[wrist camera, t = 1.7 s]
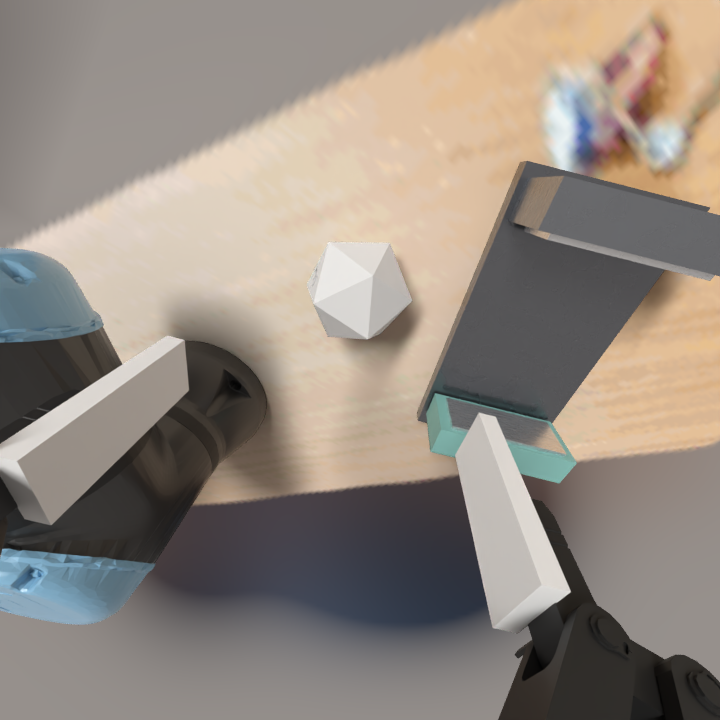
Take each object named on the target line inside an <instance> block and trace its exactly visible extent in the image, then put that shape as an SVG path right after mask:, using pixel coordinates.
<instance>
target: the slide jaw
mask: <svg viewBox="0 0 720 720" xmlns="http://www.w3.org/2000/svg"><path fill="white" fill-rule="evenodd" d="M478 413H483V414H487V415H491V416H495V417H496V419H497V421H498V423H499V426H500V428H501V430H502V433H503V435H504V437H505V440H506V442H507V444H508V447H509V449H510V451H511V454H512V456H513V458H514V461H515V463H516V465H517V467H518V470H519V472H520V474H524V475H528V476H532V477H536V478H540V479H544V480H548V481H552V482H556V483H560V482H561V481H562V480H563V478H564V477H565V476H566V475H567V474H568V473H569V471H570V470H571V469H572V468H573V467H574V466H575V465H576V463H577V462H576V461H575V459H574V458H573V456H572V455H571V453H570V451H569V450H568V448H567V447H566V445H565V444H564V442H563V440H562V439H561V437H560V436H559V434H558V433H557V431H556V429H555V428H554V426H553V425H552V423H551V422H549V421H545V420H541V419H537V418H533V417H529V416H525V415H521V414H517V413H513V412H509V411H505V410H501V409H497V408H493V407H489V406H485V405H481V404H477V403H473V402H469V401H465V400H461V399H456V398H452V397H448V396H444V395H440V394H436V393H435V395H434V397H433V399H432V402H431V404H430V406H429V409H428V411H427V413H426V416H427V425H428V434H429V442H430V451H431V452H434V453H438V454H442V455H446V456H450V457H454V458H456V457H455V454H456V453H457V451H458V449H459V447H460V445H461V444H462V442H463V440H464V438H465V437H466V435H467V433H468V431H469V429H470V428H471V426H472V424H473V422H474V420H475V419H476V417H477V415H478Z"/></svg>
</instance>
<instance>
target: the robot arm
mask: <svg viewBox="0 0 720 720" xmlns="http://www.w3.org/2000/svg"><path fill="white" fill-rule="evenodd" d="M103 325H104V324H103V322H102V319H101V317H100V315H99V314H98V313H97V312H95V311H93V309H92V308H91V306H90V304H89V302H88V301H87V299H86V297H85V296H84V294H83V292H82V291H81V289H80V287H79V286H78V284H77V282H76V281H75V279H74V277H73V276H72V275H71V273H70V272H69V271H68V270H67V269H66V268H65V267H64V266H63V265H62V264H61V263H59V262H58V261H56V260H54V259H53V258H51V257H49V256H46V255H43V254H41V253H37V252H34V251H29V250H22V249H10V248H0V611H4V612H9V613H12V614H17V615H21V616H26V617H30V618H35V619H40V620H45V621H51V622H58V623H65V624H92V623H96V622H99V621H102V620H104V619H106V618H108V617H110V616H111V615H113V614H114V613H116V612H117V611H119V610H120V609H121V608H122V606H123V605H124V604H125V603H126V602H127V600H128V599H129V597H130V596H131V594H132V593H133V592H134V590H135V589H136V588H137V586H138V585H139V584H140V582H141V581H142V580H143V578H144V577H145V576H146V574H147V573H148V572H150V571H151V570H152V569H153V568H154V566H155V562H156V560H157V559H158V557H159V556H160V554H161V553H162V551H163V550H164V548H165V546H166V545H167V543H168V542H169V540H170V538H171V537H172V535H173V534H174V532H175V531H176V529H177V527H178V526H179V525H180V523H181V521H182V520H183V518H184V517H185V515H186V514H187V512H188V510H189V509H190V507H191V506H192V504H193V503H194V501H195V499H196V498H197V496H198V495H199V493H200V492H201V490H202V488H203V487H204V485H205V484H206V482H207V481H208V479H209V477H210V476H211V474H212V473H213V471H214V470H215V468H216V467H217V465H218V464H219V463H220V462H222V461H223V460H224V459H225V458H227V457H228V456H229V455H230V454H232V453H233V452H234V451H236V450H237V449H238V448H239V447H241V446H242V445H243V444H244V443H246V442H247V441H248V440H249V439H251V437H252V436H253V435H254V434H255V433H256V431H257V430H258V428H259V426H260V424H261V423H262V421H263V419H264V417H265V414H266V406H267V404H266V397H265V393H264V390H263V388H262V386H261V384H260V382H259V380H258V379H257V377H256V376H255V374H254V373H253V372H252V371H251V370H250V369H249V368H248V367H247V366H246V365H245V364H244V363H243V362H242V361H241V360H239V359H238V358H237V357H235V356H234V355H232V354H231V353H229V352H227V351H225V350H223V349H221V348H219V347H216V346H214V345H211V344H207V343H203V342H195V341H185V340H183V339H179V338H175V337H171V336H166V337H164V338H163V339H161V340H160V341H158V342H156V343H155V344H153V345H152V346H150V347H149V348H147V349H146V350H144V351H143V352H141V353H140V354H138V355H136V356H135V357H133V358H132V359H130V360H129V361H127V362H126V363H124V364H122V363H121V361H120V359H119V357H118V355H117V353H116V351H115V349H114V347H113V345H112V343H111V342H110V340H109V338H108V336H107V334H106V332H105V330H104V328H103ZM455 457H456V461H457V466H458V471H459V475H460V480H461V484H462V489H463V494H464V498H465V503H466V507H467V511H468V516H469V521H470V525H471V530H472V535H473V540H474V544H475V549H476V553H477V558H478V562H479V567H480V571H481V576H482V581H483V585H484V590H485V594H486V599H487V603H488V608H489V613H490V618H491V622H492V627H493V628H496V629H500V630H505V631H509V632H513V633H519V632H520V631H522V630H523V629H524V628H525V627H527V626H529V630H530V633H531V636H532V640H531V641H530V642H528V643H527V644H525V645H524V646H523V647H521V648H520V649H519V650H518V651H517V652H516V654H515V656H516V657H517V658H520V657H521V656H522V655H523V658H522V660H521V663H520V665H519V668H518V671H517V673H516V676H515V678H514V681H513V683H512V686H511V689H510V691H509V694H508V696H507V699H506V701H505V704H504V706H503V709H502V712H501V714H500V716H499V719H498V720H720V682H719V681H718V680H717V679H716V678H715V677H714V676H713V675H712V674H711V673H710V672H709V671H708V670H707V669H706V668H704V667H703V666H702V665H700V664H699V663H698V662H696V661H695V660H693V659H691V658H689V657H687V656H685V655H674V656H672V657H669V658H667V659H663V658H661V657H659V656H658V655H656V654H654V653H653V652H651V651H649V650H648V649H646V648H644V647H642V646H640V645H639V644H637V643H635V642H634V641H632V640H630V639H629V637H628V635H627V634H626V632H625V631H624V629H623V628H622V627H621V625H620V624H619V623H618V622H617V621H616V620H615V619H614V618H613V617H612V616H611V615H610V614H609V613H608V612H606V611H605V610H603V609H602V608H601V607H599V606H597V604H596V602H595V601H594V599H593V597H592V595H591V593H590V591H589V589H588V586H587V585H586V582H585V580H584V578H583V576H582V574H581V572H580V570H579V568H578V566H577V563H576V561H575V559H574V557H573V555H572V553H571V551H570V549H568V544H567V542H566V540H565V538H564V536H563V535H561V530H560V528H559V526H558V524H557V521H556V519H555V517H554V516H553V514H552V513H551V512H550V511H549V509H548V508H547V507H546V506H545V504H544V503H543V502H542V501H539V500H535V499H531V498H530V495H529V493H528V491H527V488H526V486H525V484H524V482H523V479H522V477H521V475H520V472H519V470H518V467H517V465H516V463H515V461H514V458H513V456H512V454H511V451H510V449H509V447H508V444H507V442H506V440H505V437H504V435H503V433H502V430H501V428H500V426H499V423H498V421H497V419H496V417H495V416H491V415H487V414H483V413H478V415H477V417H476V419H475V420H474V422H473V424H472V426H471V428H470V429H469V431H468V433H467V435H466V437H465V438H464V440H463V442H462V444H461V445H460V447H459V449H458V451H457V453H456V454H455Z"/></svg>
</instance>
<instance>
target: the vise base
mask: <svg viewBox="0 0 720 720" xmlns="http://www.w3.org/2000/svg"><path fill="white" fill-rule="evenodd" d="M709 209H710V207H706V206H702V205H698V204H694V203H690V202H686V201H682V200H678V199H674V198H670V197H667V196H663V195H659V194H655V193H651V192H647V191H643V190H639V189H635V188H631V187H627V186H623V185H619V184H616V183H612V182H608V181H604V180H600V179H596V178H592V177H588V176H584V175H580V174H576V173H572V172H568V171H565V170H561V169H557V168H553V167H549V166H545V165H541V164H537V163H533V162H529V161H524V162H520V164H519V166H518V169H517V171H516V174H515V176H514V178H513V181H512V183H511V186H510V188H509V191H508V193H507V195H506V198H505V200H504V203H503V205H502V208H501V210H500V212H499V215H498V217H497V220H496V222H495V225H494V227H493V229H492V232H491V234H490V237H489V239H488V242H487V244H486V246H485V249H484V251H483V254H482V256H481V259H480V261H479V263H478V266H477V268H476V271H475V273H474V276H473V278H472V280H471V283H470V285H469V288H468V290H467V293H466V295H465V297H464V300H463V302H462V305H461V307H460V310H459V312H458V314H457V317H456V319H455V322H454V324H453V327H452V329H451V331H450V334H449V336H448V339H447V341H446V344H445V346H444V348H443V351H442V353H441V356H440V358H439V361H438V363H437V365H436V368H435V370H434V373H433V375H432V378H431V380H430V382H429V385H428V387H427V390H426V392H425V395H424V397H423V399H422V402H421V404H420V407H419V409H418V412H417V417H418V421H421V422H425V423H427V416H426V413H427V411H428V409H429V406H430V404H431V402H432V399H433V397H434V395H435V393H436V394H440V395H444V396H448V397H452V398H456V399H461V400H465V401H469V402H473V403H477V404H481V405H485V406H489V407H493V408H497V409H501V410H505V411H509V412H513V413H517V414H521V415H525V416H529V417H533V418H537V419H541V420H545V421H549V422H551V423H553V421H554V420H555V419H556V417H557V416H558V415H559V413H560V412H561V411H562V409H563V408H564V406H565V405H566V404H567V402H568V401H569V400H570V398H571V397H572V396H573V394H574V393H575V391H576V390H577V389H578V387H579V386H580V385H581V383H582V382H583V381H584V379H585V378H586V376H587V375H588V374H589V372H590V371H591V370H592V368H593V367H594V366H595V364H596V363H597V361H598V360H599V359H600V357H601V356H602V355H603V353H604V352H605V351H606V349H607V348H608V346H609V345H610V344H611V342H612V341H613V340H614V338H615V337H616V336H617V334H618V333H619V332H620V330H621V329H622V327H623V326H624V325H625V323H626V322H627V321H628V319H629V318H630V317H631V315H632V314H633V312H634V311H635V310H636V308H637V307H638V306H639V304H640V303H641V302H642V300H643V299H644V297H645V296H646V295H647V293H648V292H649V291H650V289H651V288H652V287H653V285H654V284H655V282H656V281H657V280H658V278H659V277H660V276H661V274H662V273H663V272H664V270H669V271H673V272H677V273H681V274H685V275H689V276H693V277H697V278H701V279H705V280H709V281H710V280H711V279H712V278H713V277H714V276H715V275H717V276H720V215H717V214H713V213H709V212H708V210H709Z"/></svg>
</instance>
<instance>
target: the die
mask: <svg viewBox="0 0 720 720" xmlns="http://www.w3.org/2000/svg"><path fill="white" fill-rule="evenodd" d="M307 287H308V290H309V293H310V296H311V299H312V302H313V304H314V307H315V309H316V311H317V313H318V315H319V318H320V320H321V322H322V324H323V327H324V329H325V331H326V333H327V335H328V337H340V338H354V339H370V338H372V337H374V336H377V335H379V334H381V333H382V332H383V331H384V330H385V329H386V328H387V327H388V326H389V324H390V323H391V322H392V321H393V320H394V319H395V318H396V317H397V316H398V315H399V314H400V313H401V312H402V311H403V310H404V309H405V308H406V307H407V306H408V305H409V304H410V303H411V302H412V299H411V296H410V293H409V291H408V288H407V286H406V283H405V281H404V278H403V275H402V273H401V270H400V268H399V265H398V263H397V260H396V257H395V255H394V252H393V250H392V247H391V245H390V243H366V242H328V244H327V246H326V248H325V250H324V252H323V254H322V256H321V258H320V259H319V261H318V263H317V265H316V267H315V269H314V271H313V273H312V275H311V277H310V279H309V281H308V283H307Z"/></svg>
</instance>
